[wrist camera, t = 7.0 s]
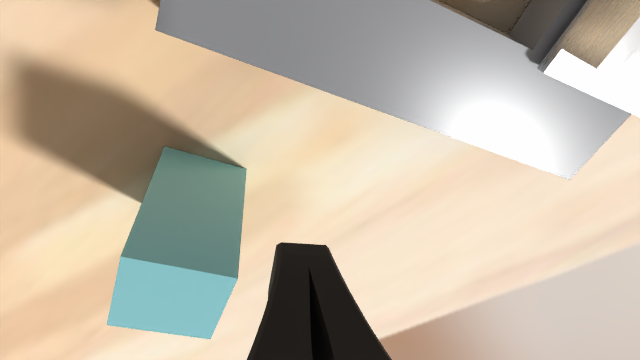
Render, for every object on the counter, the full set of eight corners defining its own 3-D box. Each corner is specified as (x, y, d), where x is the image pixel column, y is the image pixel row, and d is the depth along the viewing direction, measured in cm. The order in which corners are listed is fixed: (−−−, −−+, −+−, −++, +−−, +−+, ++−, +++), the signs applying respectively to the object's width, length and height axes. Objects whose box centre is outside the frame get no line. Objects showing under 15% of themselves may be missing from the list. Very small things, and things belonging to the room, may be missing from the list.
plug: (149, 207, 21) (106, 325, 15) (164, 146, 19) (120, 256, 13) (225, 224, 22) (210, 339, 17) (246, 168, 20) (237, 278, 15)
